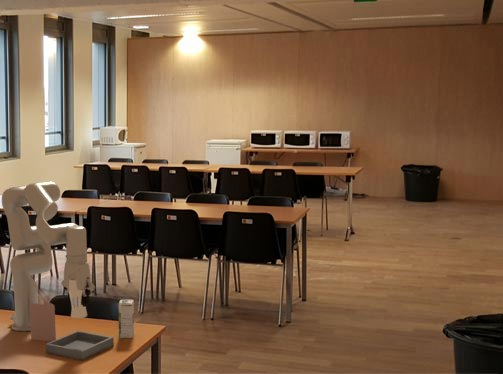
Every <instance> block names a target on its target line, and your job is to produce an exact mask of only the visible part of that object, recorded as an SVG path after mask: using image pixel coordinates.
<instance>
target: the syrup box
mask: <svg viewBox="0 0 503 374" xmlns="http://www.w3.org/2000/svg"><path fill="white" fill-rule="evenodd" d="M134 301H135V300H134V299H120V300H119V303H118V339H129V338H130V339H133V338H134V335H135V306H134V305H135V302H134Z"/></svg>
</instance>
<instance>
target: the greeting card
mask: <svg viewBox="0 0 503 374" xmlns="http://www.w3.org/2000/svg"><path fill="white" fill-rule="evenodd" d="M55 311H56V307H55V304H53V303H51V302H50V301H49V300H46V299H43V303H38V304H35V303H30V322H31V330H30V339H31V340H34V341H43V342H45V341H46V342H52V341H54V340H57V338H56V337H57V336H56V312H55Z"/></svg>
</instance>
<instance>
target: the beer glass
mask: <svg viewBox="0 0 503 374" xmlns="http://www.w3.org/2000/svg"><path fill="white" fill-rule="evenodd" d="M85 288H86V287H85ZM85 292H86V289H85ZM69 297H70V301H71V304H70V305H71V313H70V317H71V318H72V319H78V320H79V319H84V318H86V317H88V312H87V309H86V308H87V306H85V307H83V305H82V297H83V293H82V290H78V289H77V284H76V280H71V279H69Z"/></svg>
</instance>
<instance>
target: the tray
mask: <svg viewBox="0 0 503 374" xmlns="http://www.w3.org/2000/svg"><path fill="white" fill-rule="evenodd" d="M114 340H115V339H114V337H113V336H109V335H103V334H97V333H92V332H88V331H82V330H76V331H74V332H70V333H69V334H66V335H64V336H62V337H60V338H56V340H54V341H48V342H47V343H45V353H46V354H49V355H53V356H54V355H55V356H58V357H59V356H60V357H63V358H69V359H74V360H78V361H84V360H87V359H89V358H91V357H93V356H96V355H98V354H100V353H101V352H104V351H106V350H109V349H110V348H113V347H114V344H115V343H114Z"/></svg>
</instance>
